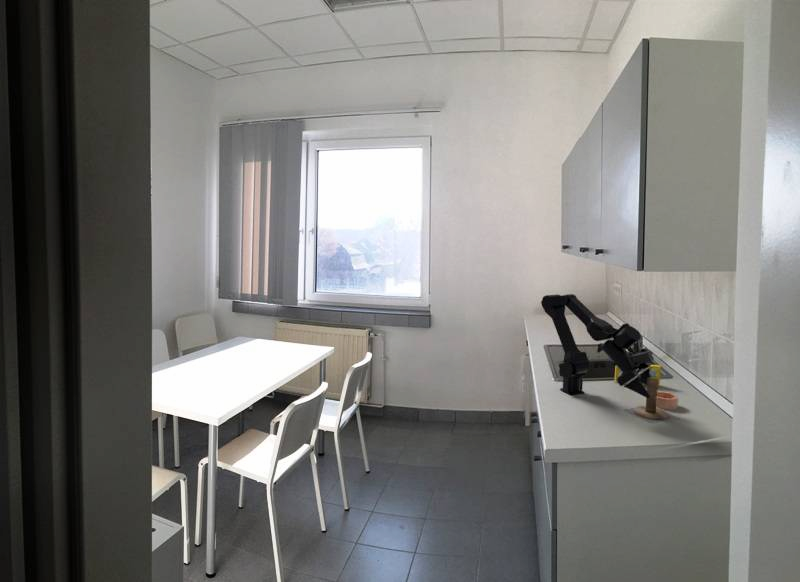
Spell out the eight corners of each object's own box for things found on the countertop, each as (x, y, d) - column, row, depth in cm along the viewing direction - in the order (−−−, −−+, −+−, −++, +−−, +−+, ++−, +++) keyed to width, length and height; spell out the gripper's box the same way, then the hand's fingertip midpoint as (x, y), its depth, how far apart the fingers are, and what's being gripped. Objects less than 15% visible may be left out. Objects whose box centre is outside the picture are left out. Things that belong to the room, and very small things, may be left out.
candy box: (614, 382, 187) (615, 362, 186) (614, 381, 189) (615, 361, 188) (659, 386, 182) (661, 366, 181) (658, 385, 184) (660, 364, 183)
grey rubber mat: (651, 424, 145) (651, 423, 145) (622, 411, 156) (622, 409, 156) (680, 419, 148) (680, 418, 148) (649, 407, 160) (650, 405, 160)
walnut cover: (651, 421, 146) (653, 384, 145) (626, 410, 155) (628, 375, 154) (675, 417, 149) (677, 381, 148) (650, 407, 158) (652, 373, 157)
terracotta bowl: (664, 411, 155) (665, 400, 155) (645, 403, 163) (645, 392, 162) (682, 409, 158) (683, 397, 157) (662, 401, 165) (663, 390, 165)
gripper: (629, 346, 146) (666, 387, 140) (645, 336, 160) (680, 373, 153) (602, 366, 152) (637, 406, 146) (620, 355, 166) (653, 391, 160)
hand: (653, 393), depth 151 cm, fingers open, 9 cm apart
